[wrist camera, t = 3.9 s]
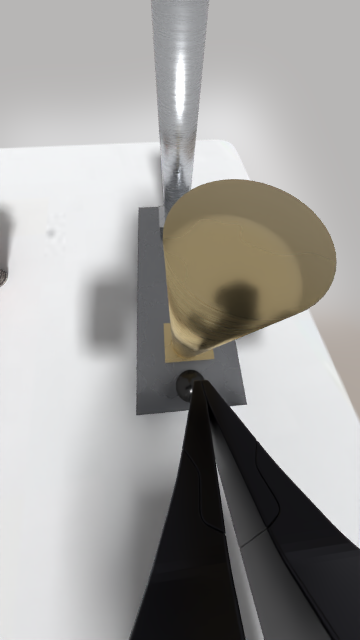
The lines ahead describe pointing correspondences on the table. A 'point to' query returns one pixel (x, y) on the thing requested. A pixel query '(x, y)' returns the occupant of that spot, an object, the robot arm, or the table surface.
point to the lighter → (3, 277)
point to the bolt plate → (177, 167)
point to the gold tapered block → (239, 264)
